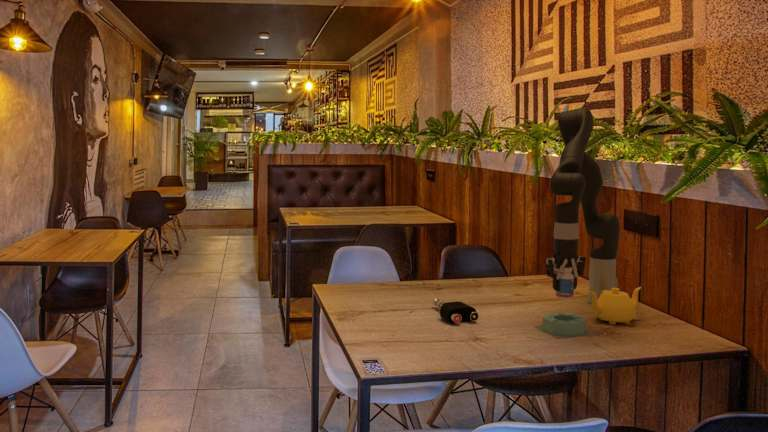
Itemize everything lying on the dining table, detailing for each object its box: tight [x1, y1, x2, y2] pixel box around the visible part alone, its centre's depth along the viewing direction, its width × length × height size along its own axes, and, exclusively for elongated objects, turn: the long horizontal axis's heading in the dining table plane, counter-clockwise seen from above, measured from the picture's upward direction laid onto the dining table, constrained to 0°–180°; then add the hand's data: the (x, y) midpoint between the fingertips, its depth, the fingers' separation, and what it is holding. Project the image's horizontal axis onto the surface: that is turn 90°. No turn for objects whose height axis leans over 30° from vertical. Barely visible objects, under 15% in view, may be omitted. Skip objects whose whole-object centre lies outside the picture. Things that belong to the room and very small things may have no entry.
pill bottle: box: [555, 267, 575, 300], centre depth 202 cm, size 6×5×10 cm
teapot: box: [588, 286, 642, 325], centre depth 214 cm, size 20×15×12 cm
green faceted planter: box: [542, 311, 587, 337], centre depth 203 cm, size 12×12×4 cm
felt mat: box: [532, 324, 597, 340], centre depth 203 cm, size 14×14×1 cm
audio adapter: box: [432, 297, 479, 325], centre depth 223 cm, size 11×5×25 cm
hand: (564, 289), depth 202 cm, fingers closed on pill bottle, 5 cm apart
